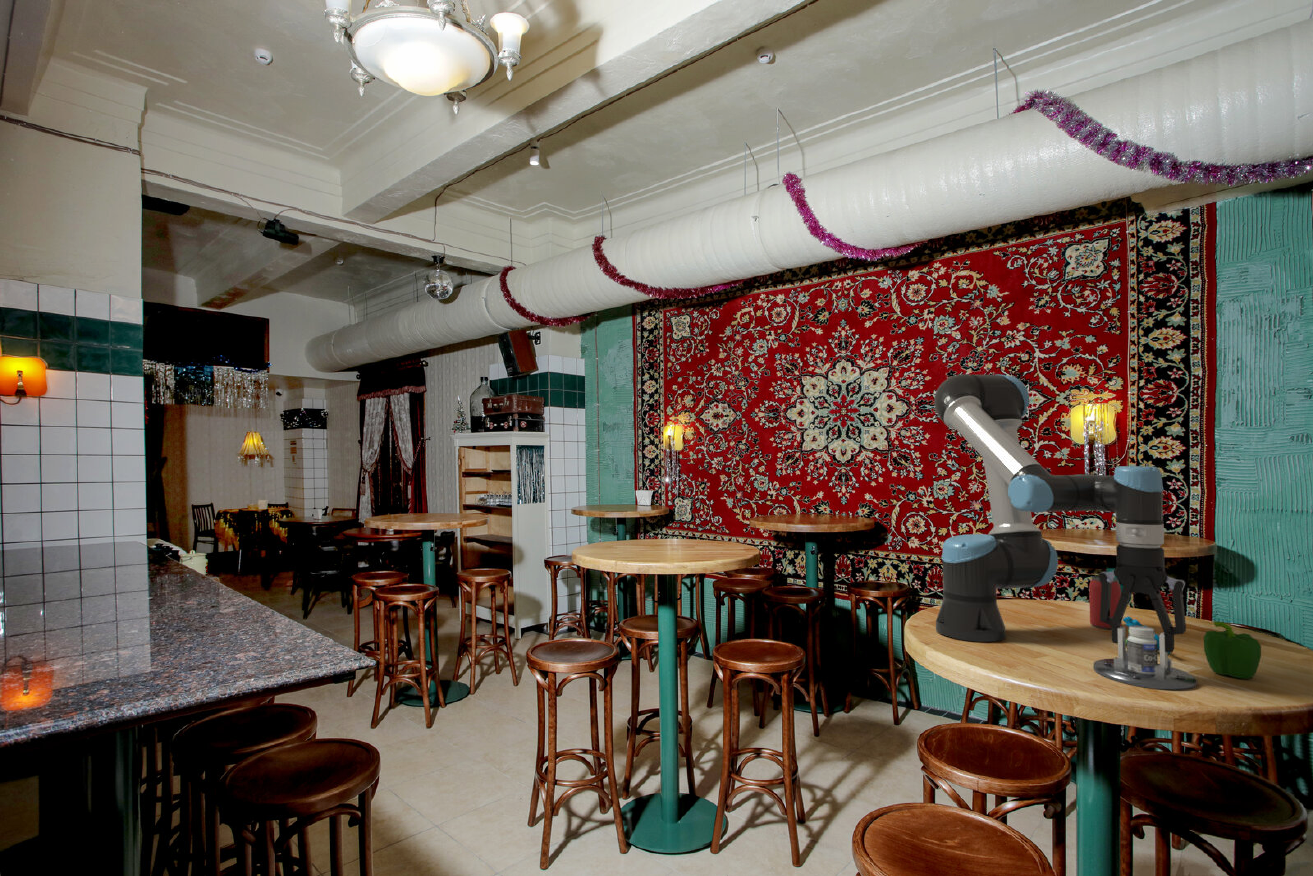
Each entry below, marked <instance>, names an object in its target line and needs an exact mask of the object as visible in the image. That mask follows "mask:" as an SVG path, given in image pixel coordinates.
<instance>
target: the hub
mask: <svg viewBox="0 0 1313 876" xmlns="http://www.w3.org/2000/svg"><path fill="white" fill-rule="evenodd" d="M1172 660H1173V659H1172V658H1168V668H1167V669H1166V668H1165V666H1160V663H1158V665H1156V666H1155V674H1154V675H1146V674H1140V673H1136V672H1133V671H1130V670H1129V669H1128V663H1127V650H1126V660H1125V661H1124V659H1122V658H1118V656H1116V657H1114V658H1102V659H1099V660H1095V661H1094V662H1093V667H1092V668H1093V670H1094V672H1095V673H1097V674H1098V675H1100V676H1101V677H1104V678H1106V679H1108V680H1112V681H1115V682H1118V683H1122V684H1124V685H1129V686H1135V687H1139V688H1144V689H1145V688H1146V689H1151V690H1152V689H1153V690H1161V691H1162V690H1163V691H1187V690H1191V689H1194V688H1196V687H1197V684H1198V683H1197V677H1195V676H1194V675H1193V674H1191V673H1189V672H1186V671H1184V670H1182V669H1178V668H1177V667H1174V666H1173V665H1172V663H1173V662H1172Z"/></svg>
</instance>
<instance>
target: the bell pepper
mask: <svg viewBox="0 0 1313 876" xmlns="http://www.w3.org/2000/svg"><path fill="white" fill-rule="evenodd" d="M1213 625H1214V627H1215V628H1218V627H1220V628H1221V627H1222V628H1223V629H1225V630H1223V631H1216V630H1206V632H1205V633H1204V635H1203V648H1204V649H1203V651H1204V654H1205V657H1206V660H1207V663H1208V665H1209V667H1210V669H1211V670H1212V672H1214V673H1215V674H1219V675H1223V676H1228V677H1229V676H1231V677H1232V678H1233V677H1234V678H1236V679H1245V680H1248V679H1252V678H1253V677H1254V676H1255V675H1256V673H1257V671H1258V668H1259V666H1260V661H1261V657H1262V646H1261V644H1260V642H1259V641H1258V639H1256V638H1254V637H1253V636H1252V635H1250V634H1249V633H1245V632H1244V633H1238V634H1237V633H1235V632H1234V630H1233V628H1232V627H1231V626H1230V625H1229V624H1227V623H1225V622H1221V621H1214V622H1213Z"/></svg>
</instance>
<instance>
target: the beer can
mask: <svg viewBox="0 0 1313 876" xmlns="http://www.w3.org/2000/svg"><path fill="white" fill-rule="evenodd" d="M1090 579H1091V580H1090V582H1089V586H1088V591H1089V593H1088V596H1089V624H1091V626H1092V627H1096V628H1100V629H1104V630H1111V626H1110V625H1109V624H1107V623H1103V622H1101V621H1100V607H1101V586H1102V585H1101V582H1100V579H1099V576H1092V577H1090ZM1121 592H1122V588H1121V585H1120V582H1119V580H1118V579H1117V578H1115V577H1114V581H1113V582H1112V583H1111V607H1110V617H1112V618H1113V616H1114V613H1115V610H1116V607H1117V605H1118V602H1119V599H1120V596H1121ZM1122 621H1123V620H1122ZM1122 621H1121V624H1120V626H1123V625H1122V623H1123V622H1122Z"/></svg>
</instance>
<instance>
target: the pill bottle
mask: <svg viewBox="0 0 1313 876" xmlns="http://www.w3.org/2000/svg"><path fill="white" fill-rule="evenodd" d="M1145 626H1146V625H1145ZM1145 626H1144V625H1142V626H1129V627H1128V630H1129V632H1128V634H1131V635H1130V636H1128V635H1127V637H1126V640H1127V645H1126V651H1127V663H1128V669H1129V670H1130V671H1133V672H1136V673H1140V674H1146V675H1154V674H1155V666H1156V665H1158V664H1159V663H1158V650H1157V641H1156V640H1155V639H1154V638H1153V637H1155V634H1156V633H1155V629H1154V628H1153V627H1149V626H1146V627H1145Z"/></svg>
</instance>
